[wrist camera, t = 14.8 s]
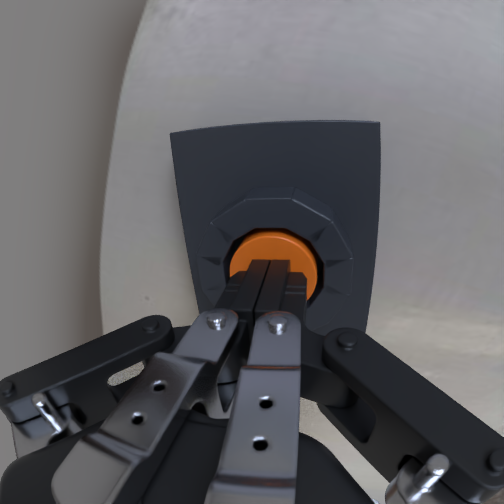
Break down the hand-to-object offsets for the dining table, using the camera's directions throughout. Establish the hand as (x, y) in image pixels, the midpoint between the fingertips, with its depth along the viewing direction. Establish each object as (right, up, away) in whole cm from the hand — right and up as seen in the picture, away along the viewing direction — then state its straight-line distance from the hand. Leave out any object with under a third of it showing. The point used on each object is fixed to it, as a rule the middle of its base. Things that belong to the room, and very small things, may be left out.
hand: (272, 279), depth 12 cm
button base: (+1, +2, +4) cm, 4 cm away
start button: (0, +1, +2) cm, 2 cm away
